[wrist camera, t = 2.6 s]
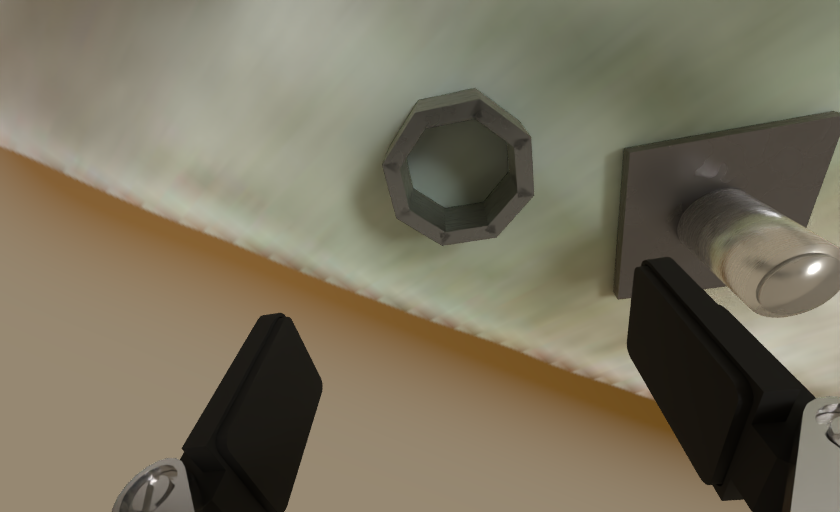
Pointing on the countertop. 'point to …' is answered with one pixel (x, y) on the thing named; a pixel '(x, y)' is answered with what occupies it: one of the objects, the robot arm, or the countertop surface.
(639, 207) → the grey peg base
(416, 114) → the ring
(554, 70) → the countertop surface
